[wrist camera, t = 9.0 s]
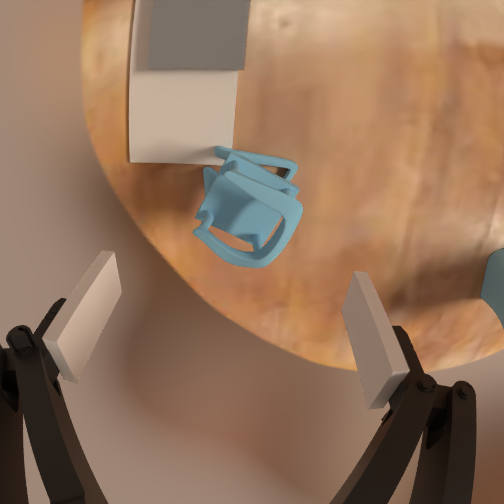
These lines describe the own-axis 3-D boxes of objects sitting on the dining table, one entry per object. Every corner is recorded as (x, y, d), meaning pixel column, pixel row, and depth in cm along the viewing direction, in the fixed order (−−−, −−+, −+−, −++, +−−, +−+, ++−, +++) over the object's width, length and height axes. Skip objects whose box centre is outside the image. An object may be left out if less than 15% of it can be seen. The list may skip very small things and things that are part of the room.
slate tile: (253, -19, 21) (161, -18, 20) (252, -25, 19) (156, -22, 19) (244, 70, 26) (153, 69, 25) (243, 69, 24) (147, 69, 24)
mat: (141, -28, 20) (140, -29, 19) (248, -34, 20) (248, -35, 19) (131, 161, 31) (130, 162, 31) (231, 165, 31) (230, 166, 31)
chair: (227, 125, 29) (218, 156, 18) (298, 164, 31) (327, 214, 21) (192, 189, 32) (170, 249, 22) (260, 222, 34) (269, 292, 24)
